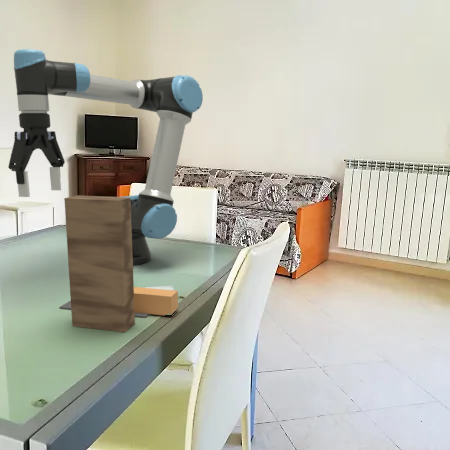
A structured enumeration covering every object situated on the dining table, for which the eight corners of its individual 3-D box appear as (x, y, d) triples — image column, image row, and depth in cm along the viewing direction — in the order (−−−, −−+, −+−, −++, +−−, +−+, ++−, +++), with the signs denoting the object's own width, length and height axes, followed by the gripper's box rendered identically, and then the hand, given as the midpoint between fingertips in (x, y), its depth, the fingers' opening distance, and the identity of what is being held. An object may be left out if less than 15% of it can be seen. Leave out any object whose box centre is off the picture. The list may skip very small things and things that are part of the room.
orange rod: (99, 301, 123) (98, 283, 122) (178, 309, 118) (177, 290, 117) (90, 307, 119) (89, 289, 118) (171, 316, 114) (171, 296, 113)
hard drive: (176, 300, 123) (173, 285, 135) (144, 301, 122) (144, 286, 134) (176, 306, 123) (173, 290, 135) (145, 307, 122) (144, 292, 134)
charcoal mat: (76, 298, 127) (76, 296, 127) (158, 306, 121) (158, 305, 121) (59, 308, 119) (59, 307, 119) (145, 318, 113) (145, 316, 113)
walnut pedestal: (84, 318, 113) (77, 195, 108) (134, 323, 110) (130, 197, 104) (72, 326, 109) (64, 198, 103) (125, 332, 105) (120, 200, 100)
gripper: (50, 114, 135) (56, 187, 139) (-14, 111, 111) (-4, 199, 115) (73, 113, 133) (79, 188, 137) (13, 110, 109) (22, 200, 113)
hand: (41, 193), depth 126 cm, fingers open, 13 cm apart
